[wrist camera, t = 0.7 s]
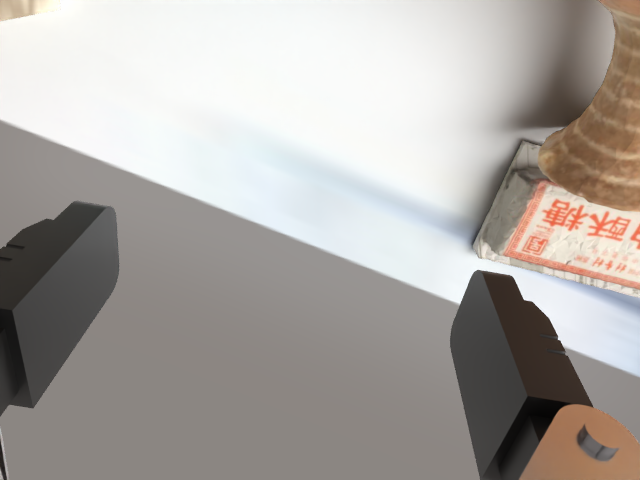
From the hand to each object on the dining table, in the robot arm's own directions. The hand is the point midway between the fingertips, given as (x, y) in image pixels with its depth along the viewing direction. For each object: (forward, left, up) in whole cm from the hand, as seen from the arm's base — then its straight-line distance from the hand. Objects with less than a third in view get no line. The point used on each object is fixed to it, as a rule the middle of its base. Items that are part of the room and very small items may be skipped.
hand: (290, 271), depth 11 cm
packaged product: (+8, +23, -28) cm, 37 cm away
